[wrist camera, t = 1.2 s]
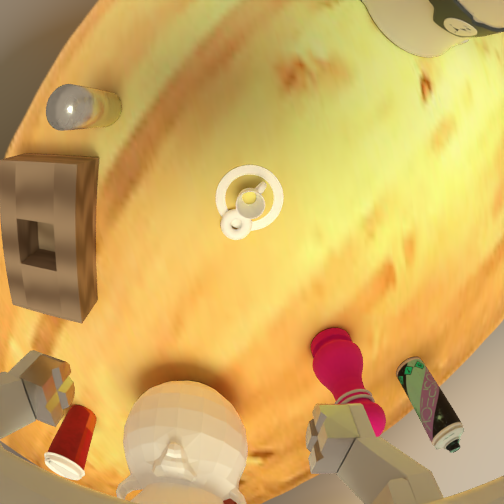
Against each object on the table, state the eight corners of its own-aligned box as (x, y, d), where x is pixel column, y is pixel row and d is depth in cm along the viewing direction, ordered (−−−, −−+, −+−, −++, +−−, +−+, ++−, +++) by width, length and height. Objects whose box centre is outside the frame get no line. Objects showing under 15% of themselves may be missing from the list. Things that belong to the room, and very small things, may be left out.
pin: (92, 91, 31) (49, 85, 21) (124, 92, 31) (88, 83, 22) (87, 126, 32) (43, 130, 23) (118, 128, 33) (81, 131, 24)
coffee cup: (59, 406, 51) (35, 460, 37) (78, 396, 49) (53, 456, 36) (88, 429, 54) (70, 483, 40) (109, 421, 52) (91, 480, 38)
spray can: (426, 357, 49) (477, 436, 31) (412, 379, 51) (455, 457, 33) (405, 355, 49) (455, 441, 30) (390, 378, 50) (433, 463, 32)
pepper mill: (309, 326, 44) (346, 439, 26) (356, 322, 45) (409, 425, 26) (305, 362, 47) (333, 470, 29) (348, 358, 48) (389, 458, 29)
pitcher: (249, 361, 46) (260, 513, 23) (241, 429, 53) (246, 546, 30) (130, 352, 45) (83, 491, 22) (144, 421, 52) (122, 533, 29)
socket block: (25, 153, 33) (-1, 160, 27) (99, 157, 34) (77, 164, 28) (32, 284, 40) (12, 304, 34) (97, 300, 41) (82, 323, 36)
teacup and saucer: (234, 244, 40) (234, 257, 36) (197, 192, 37) (192, 200, 33) (295, 206, 38) (301, 215, 34) (259, 151, 35) (262, 154, 32)
